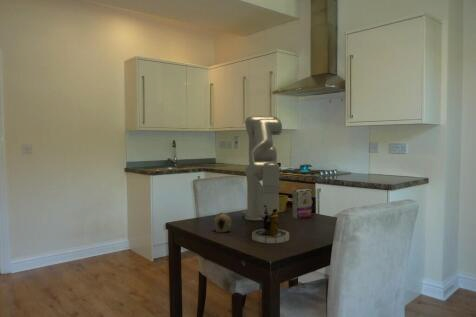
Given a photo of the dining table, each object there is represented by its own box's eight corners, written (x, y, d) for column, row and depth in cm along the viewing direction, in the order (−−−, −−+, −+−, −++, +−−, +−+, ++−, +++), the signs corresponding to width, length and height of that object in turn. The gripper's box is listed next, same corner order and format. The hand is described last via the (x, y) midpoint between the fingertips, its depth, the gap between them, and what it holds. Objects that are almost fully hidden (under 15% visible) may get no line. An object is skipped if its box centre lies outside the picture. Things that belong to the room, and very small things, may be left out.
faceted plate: (245, 239, 173) (245, 234, 173) (264, 232, 187) (264, 227, 187) (277, 245, 163) (277, 239, 163) (295, 237, 177) (295, 232, 177)
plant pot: (277, 213, 233) (277, 197, 233) (268, 210, 242) (268, 195, 242) (290, 212, 238) (290, 196, 238) (281, 209, 247) (281, 194, 247)
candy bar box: (306, 215, 226) (306, 188, 226) (312, 217, 222) (312, 189, 221) (291, 217, 221) (292, 190, 220) (297, 219, 217) (297, 190, 216)
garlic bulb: (215, 235, 190) (210, 215, 192) (230, 230, 193) (225, 212, 195) (219, 233, 182) (214, 213, 184) (235, 229, 185) (230, 209, 186)
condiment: (281, 235, 174) (281, 209, 173) (267, 237, 169) (267, 211, 169) (271, 231, 180) (272, 206, 179) (257, 234, 175) (257, 208, 175)
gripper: (272, 186, 183) (272, 223, 184) (253, 191, 169) (253, 230, 170) (286, 188, 179) (286, 225, 180) (268, 192, 165) (268, 233, 166)
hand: (270, 227), depth 175 cm, fingers closed on condiment, 6 cm apart
